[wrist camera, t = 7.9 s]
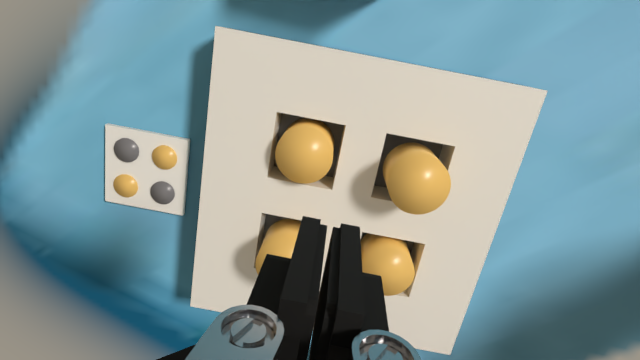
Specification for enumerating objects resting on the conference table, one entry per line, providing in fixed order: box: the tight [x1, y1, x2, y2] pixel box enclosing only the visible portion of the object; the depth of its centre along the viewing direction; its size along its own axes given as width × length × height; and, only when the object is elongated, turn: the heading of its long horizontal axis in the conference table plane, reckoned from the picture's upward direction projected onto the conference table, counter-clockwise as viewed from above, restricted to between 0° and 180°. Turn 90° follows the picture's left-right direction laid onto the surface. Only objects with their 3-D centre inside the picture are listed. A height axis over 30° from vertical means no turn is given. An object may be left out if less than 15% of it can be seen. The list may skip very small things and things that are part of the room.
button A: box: [383, 143, 451, 215], centre depth 25 cm, size 4×4×3 cm
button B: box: [361, 233, 415, 296], centre depth 28 cm, size 4×4×3 cm
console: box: [190, 26, 547, 355], centre depth 28 cm, size 20×20×3 cm
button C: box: [275, 118, 334, 184], centre depth 26 cm, size 4×4×3 cm
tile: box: [105, 123, 190, 216], centre depth 29 cm, size 6×6×1 cm
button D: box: [255, 219, 301, 274], centre depth 27 cm, size 4×4×3 cm
